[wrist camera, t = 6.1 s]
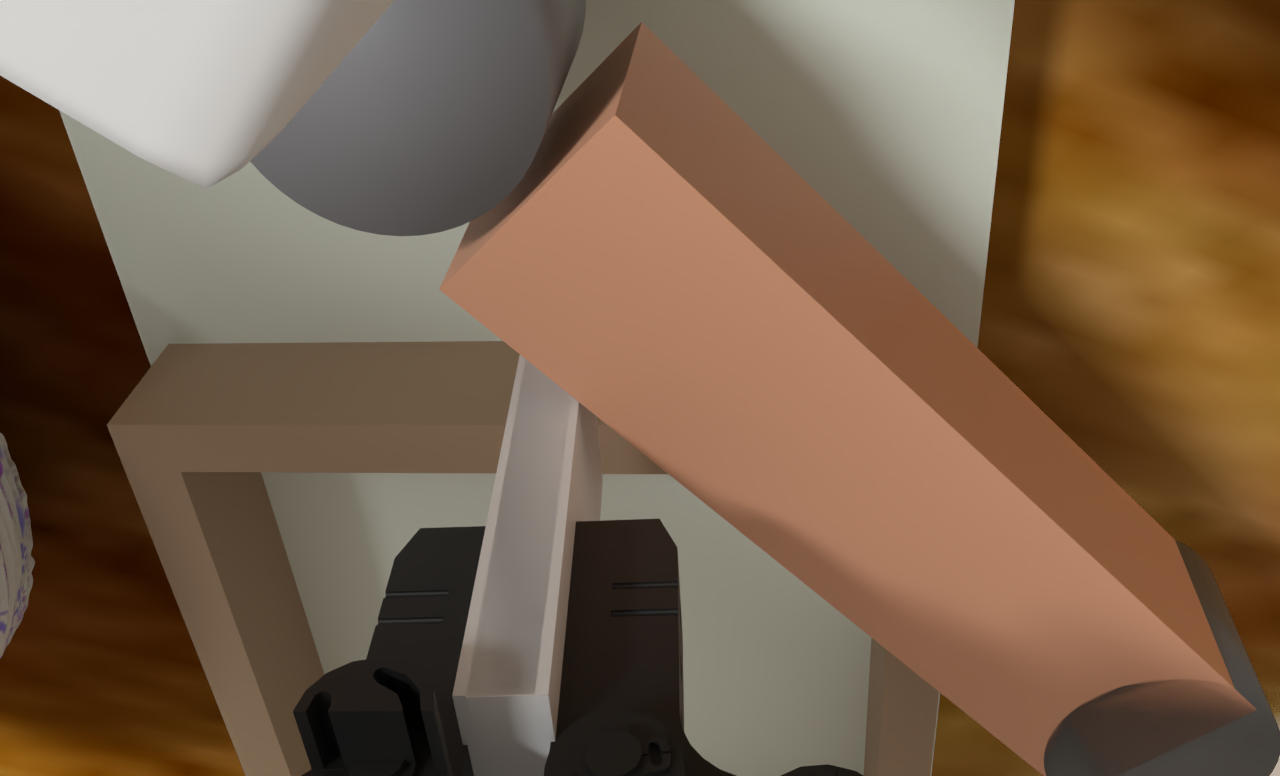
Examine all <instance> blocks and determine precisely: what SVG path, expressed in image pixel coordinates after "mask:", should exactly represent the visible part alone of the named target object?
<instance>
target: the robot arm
mask: <svg viewBox="0 0 1280 776" xmlns="http://www.w3.org/2000/svg"><path fill="white" fill-rule="evenodd" d="M602 483H603V477H602V467H601V457H600V447H599V437H598V427H597V417H596V415H594V414H593V413H592V412H591V411H590V410H588V409H587V408H586V407H585V406H583V405H582V404H581V403H580V402H578V401H577V400H576V399H575V398H573V397H572V396H571V395H570V394H568V393H567V392H566V391H565V390H563V389H562V388H561V387H560V386H558V385H557V384H556V383H555V382H553V381H552V380H551V379H550V378H549V377H547V376H546V375H545V374H544V373H542V372H541V371H540V370H539V369H537V368H536V367H535V366H534V365H532V364H531V363H530V362H529V361H527V360H526V359H525V358H524V357H522V356H521V355H520V356H519V361H518V366H517V371H516V376H515V381H514V386H513V391H512V396H511V401H510V406H509V411H508V416H507V421H506V427H505V432H504V437H503V442H502V447H501V452H500V457H499V462H498V467H497V472H496V477H495V482H494V487H493V492H492V497H491V502H490V507H489V513H488V518H487V523H486V526H473V527H441V528H420V529H419V530H418V531H417V532H416V534H415V535H414V536H413V537H412V538H411V540H410V541H409V542H408V543H407V544H406V545H405V547H404V548H403V549H402V550H401V551H400V552H399V554H398V555H397V556H396V557H395V559H394V563H393V566H392V570H391V573H390V577H389V580H388V584H387V587H386V591H385V593H386V596H385V598H383V601H382V605H381V608H380V612H379V615H378V625H376V626H375V630H374V633H373V637H372V640H371V644H370V647H369V651H368V654H367V658H366V660H359V661H352V662H350V663H348V664H346V665H343V666H341V667H339V668H337V669H334V670H332V671H330V672H328V673H326V674H325V675H324V676H322V677H321V678H320V679H319V680H318V681H316V682H315V683H314V684H313V685H311V686H310V687H309V688H308V689H307V690H306V691H305V692H304V694H303V695H302V697H301V699H300V700H299V702H298V704H297V705H296V707H295V709H294V710H293V714H294V717H295V720H296V723H297V726H298V729H299V732H300V735H301V738H302V741H303V744H304V747H305V750H306V754H307V757H308V760H309V763H310V766H311V770H310V771H308V772H306V773H305V774H303V775H301V776H736V775H734V774H731V773H728V772H726V771H723V770H721V769H719V768H717V767H716V766H714V765H713V764H711V763H710V762H708V761H707V760H705V759H704V758H702V756H701V755H700V754H699V753H698V752H697V751H696V750H695V749H694V748H693V747H692V745H691V744H690V743H689V741H688V739H687V737H686V735H685V733H684V686H683V634H682V617H681V600H680V583H679V565H678V548H677V546H676V544H675V543H674V541H673V539H672V538H671V536H670V535H669V533H668V531H667V530H666V528H665V527H664V525H663V523H662V522H661V520H660V519H633V520H605V521H600V512H601V497H602ZM781 776H863V775H862V774H860V773H858V772H857V771H854V770H850V769H846V768H842V767H838V766H833V765H829V764H826V765H813V766H801V767H799V768H796V769H794V770H792V771H790V772H787V773H785V774H783V775H781Z"/></svg>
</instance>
